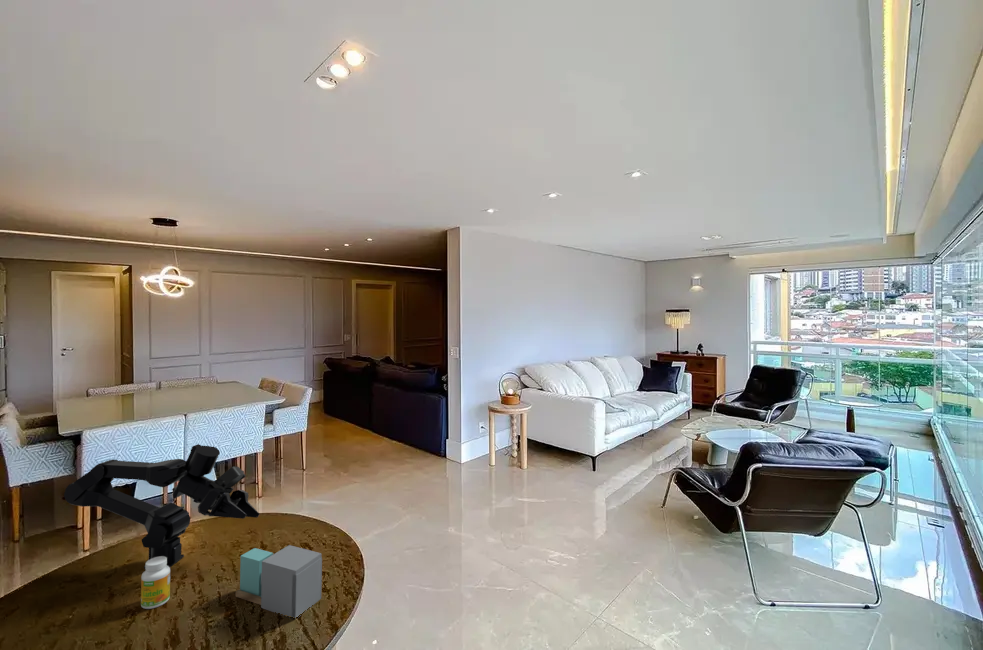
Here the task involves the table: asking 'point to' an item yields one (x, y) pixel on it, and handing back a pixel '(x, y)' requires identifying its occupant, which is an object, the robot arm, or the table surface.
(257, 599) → the track
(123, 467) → the robot arm
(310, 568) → the socket
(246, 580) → the slider
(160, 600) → the supplement bottle
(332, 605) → the table surface
